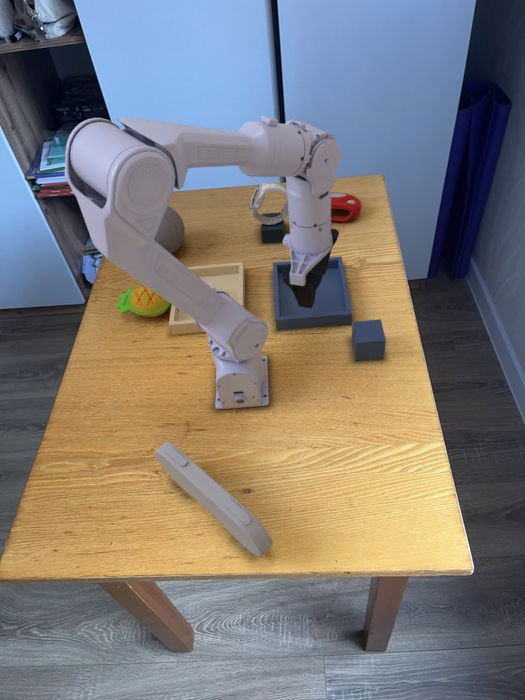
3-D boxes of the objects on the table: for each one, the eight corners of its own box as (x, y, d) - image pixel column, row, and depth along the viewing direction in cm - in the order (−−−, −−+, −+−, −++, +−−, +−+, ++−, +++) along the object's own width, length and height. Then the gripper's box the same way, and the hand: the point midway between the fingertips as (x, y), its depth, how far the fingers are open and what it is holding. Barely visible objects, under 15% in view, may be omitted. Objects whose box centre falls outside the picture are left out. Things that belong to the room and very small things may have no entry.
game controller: (277, 552, 62) (271, 526, 56) (265, 566, 61) (257, 542, 55) (175, 459, 72) (160, 428, 66) (163, 471, 71) (146, 440, 65)
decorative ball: (193, 234, 106) (183, 192, 98) (184, 266, 99) (171, 224, 92) (147, 235, 107) (133, 194, 100) (135, 267, 101) (119, 225, 93)
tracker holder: (337, 186, 110) (372, 194, 102) (337, 207, 112) (371, 216, 105) (293, 198, 104) (327, 206, 96) (294, 219, 106) (327, 229, 99)
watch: (254, 227, 105) (247, 179, 97) (293, 224, 104) (289, 175, 96) (252, 244, 102) (245, 196, 93) (293, 241, 101) (289, 192, 93)
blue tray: (351, 324, 85) (352, 313, 83) (276, 330, 86) (275, 320, 84) (341, 266, 95) (341, 256, 93) (273, 272, 96) (272, 262, 94)
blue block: (383, 358, 80) (385, 340, 76) (355, 361, 80) (356, 342, 77) (379, 337, 83) (381, 319, 79) (351, 340, 83) (352, 321, 80)
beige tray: (244, 328, 87) (242, 318, 85) (172, 334, 88) (168, 324, 86) (245, 271, 97) (243, 261, 95) (179, 278, 97) (176, 267, 95)
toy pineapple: (172, 324, 89) (164, 302, 85) (117, 325, 91) (107, 304, 87) (179, 296, 94) (172, 274, 90) (127, 298, 95) (117, 277, 91)
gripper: (296, 182, 75) (300, 255, 85) (264, 244, 66) (273, 317, 76) (344, 187, 73) (342, 261, 83) (317, 251, 64) (319, 325, 74)
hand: (312, 288), depth 79 cm, fingers open, 7 cm apart
